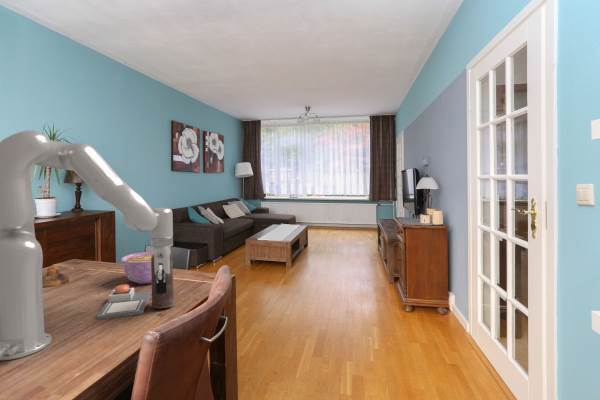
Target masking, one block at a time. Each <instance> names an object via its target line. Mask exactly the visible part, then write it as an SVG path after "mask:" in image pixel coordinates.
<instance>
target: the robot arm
mask: <svg viewBox="0 0 600 400" xmlns="http://www.w3.org/2000/svg"><path fill="white" fill-rule="evenodd" d="M34 166H42V167H46V168H53V169H58V170H66V171H73V172H74V173H75V174H76V175H77V176H78V177H79V178H80V179H81V180H82V181H83V182H84V183H85V184H86V185H87V186H88V187H89V189H91V191H92V192H93V193H94V194H95V195H96V196H98V198H100V199H101V200H103V201H104V202H106V203H108V204H110V205H111V206H113V207H114V208H116V209H117V211H119V212H120V213H121V214H122V215H123V223H124V225H125V226H126V227H127V228H129V229H131V230H134V231H137V232H140V233H149V235H150V236H149V238H150V239H149V240H150V241H149V242H150V243H149V244H150V247H151V248H152V249H153V252H154V270H155V275H157V282H156V293H157V294H161V293H166V282H165V277H166V276H165V275H166V274H167V273H168V274H169V273H170V254H171V253H172V252H171V251H172V250H171V247H173V246H174V229H173V228H174V223H173V221H174V220H173V219H174V218H173V216H174V215H173V210H172V209H171V208H169V207H155V208H152V207H151V206H150V205H149V204H148V203H147V202H146V201H145V200H144V199H143V198H142V196H141V195H139V194H138V193H137V192H136V191H135V190H134V189H133V188H132V187H130V185H129V184H127V182H125V181H124V180H123V179H122V178H121V177H120V176H119V175H118V174H117V172H115V170H114V169H113V168H112V167H111V165H109V164H108V162H107V161H106V160H105V159H104V158H103V157H102V155H101V154H100V153H99V152H98V151H97V150H96V148H94V147H93V146H92V145H90V144H88V143H85V142H75V143H68V142H61V141H57V140H53V139H50V138H49V137H47V136H46V135H45V134H43V133H42V132H39V131H36V130H23V131H19V132H16V133H14V134H11V135H9V136H7V137H5V138H4V139H2V140H0V361H8V360H16V359H20V358H24V357H27V356H30V355H33V354H35V353H37V352H39V351H41V350H43V349H45V348H47V346H49V345H50V344H51V343H52V340H53V338H52V335H51V334H50V333H47V332H45V317H44V316H45V315H44V314H45V313H44V311H45V310H44V289H43V288H44V287H42V277H43V261H44V257H43V256H44V255H43V249H42V245H41V244H40V242H39V241H38V240H37V237H36V232H35V223H34V220H35V218H36V212H37V211H36V207H35V204H34V203H35V202H34V196H33V188H32V170H33V168H34ZM163 269H164V273H162V270H163ZM156 272H157V273H156ZM165 273H166V274H165ZM162 275H164V277H163V276H162Z"/></svg>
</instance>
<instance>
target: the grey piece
mask: <svg viewBox="0 0 600 400" xmlns="http://www.w3.org/2000/svg"><path fill="white" fill-rule="evenodd" d="M151 296H152V290H150V291H140V292H135V287H129V293H127V294H118V295H115V288H114V289H113V290H112V291H111V292H110V294H109V295H108V300H107V302H106V303H105V304H104V305H103V306H102V308H101V310H100V311H99V312H98V313H97V315H96V320H102V319H112V318H119V317H127V316H137V315H143V314H144V312H145V310H146V307H147V304H148V302H149V300H150V297H151ZM111 317H112V318H111Z"/></svg>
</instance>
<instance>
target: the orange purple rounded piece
mask: <svg viewBox="0 0 600 400" xmlns="http://www.w3.org/2000/svg"><path fill="white" fill-rule="evenodd" d="M69 281H70V278H69V277H68V275H66V274H64V273H60V268H59V267H58V266H50V267H48V268H47V270H46V274H44V275H42V288H51V287H58V286H60V285H61V286H62V285H65V284H68V282H69Z"/></svg>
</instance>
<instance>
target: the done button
mask: <svg viewBox="0 0 600 400" xmlns="http://www.w3.org/2000/svg"><path fill="white" fill-rule="evenodd" d="M129 288H130V285H129V284H120V285H117V286H115V287H114V289H115V295H118V294H127V293H129Z"/></svg>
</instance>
